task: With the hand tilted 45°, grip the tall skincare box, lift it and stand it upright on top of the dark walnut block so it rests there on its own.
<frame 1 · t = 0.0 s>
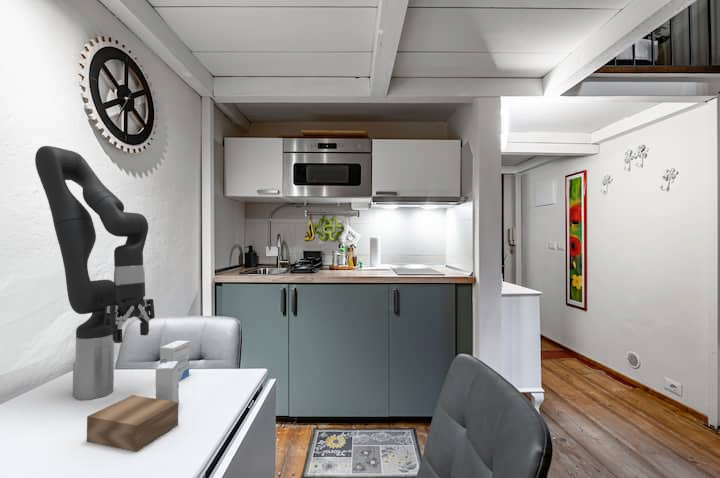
hand: (131, 338, 105), 17 cm above the table, tool pointing down, fingers open, 8 cm apart
ink box: (174, 380, 120), on the table
skincare box: (167, 410, 99), on the table
walnut block: (134, 434, 87), on the table
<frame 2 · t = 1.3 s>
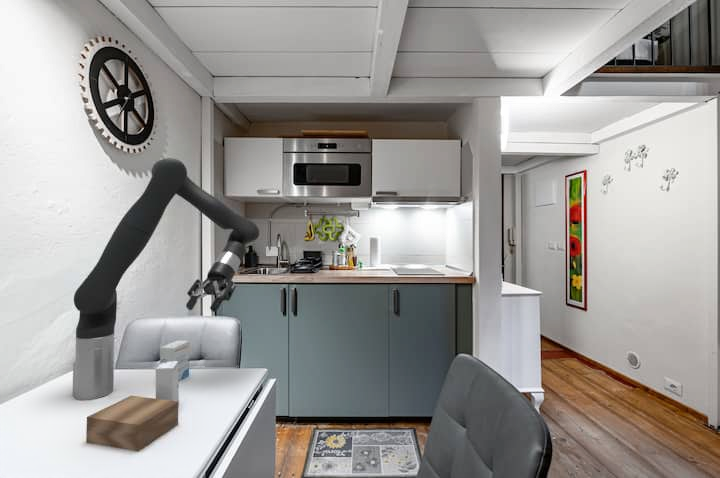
hand: (200, 309, 111), 25 cm above the table, tool tilted 45°, fingers open, 8 cm apart
nothing on the table moved.
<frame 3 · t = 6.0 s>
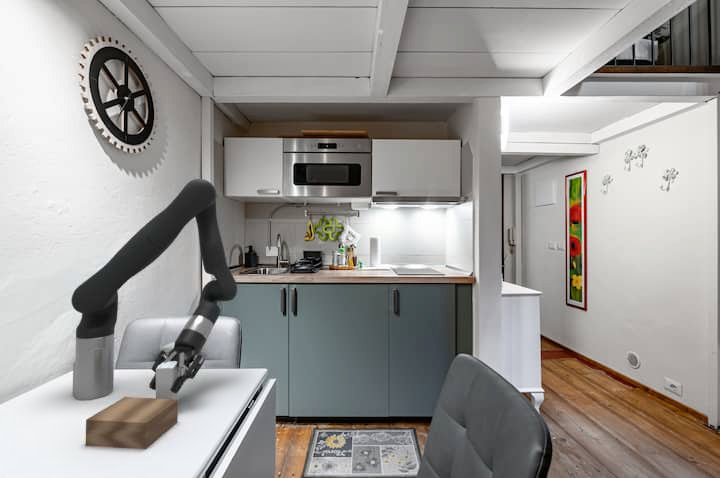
hand: (162, 390, 97), 6 cm above the table, tool tilted 45°, fingers closed on skincare box, 6 cm apart
skincare box: (167, 410, 99), on the table, touching gripper
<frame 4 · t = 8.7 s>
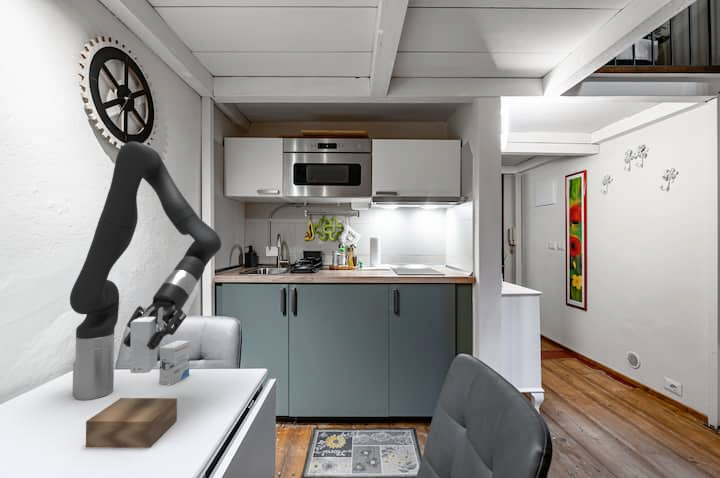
hand: (138, 346, 88), 20 cm above the table, tool tilted 45°, fingers closed on skincare box, 6 cm apart
skincare box: (143, 369, 89), point 14 cm above the table, touching gripper
when the fingers open (13 cm above the table, at t = 11.6 s): skincare box drops 2 cm, resting on walnut block.
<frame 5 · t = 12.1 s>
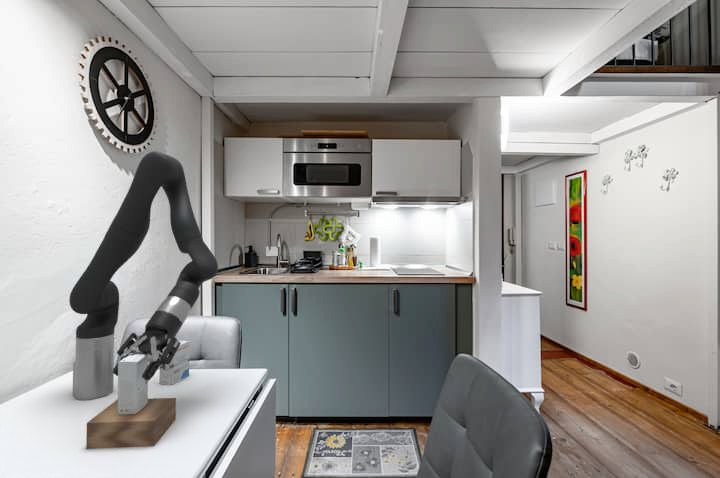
hand: (130, 376, 85), 14 cm above the table, tool tilted 45°, fingers open, 8 cm apart
skincare box: (133, 409, 87), point 5 cm above the table, touching walnut block
walnut block: (134, 435, 87), on the table, touching skincare box
everything else where it was.
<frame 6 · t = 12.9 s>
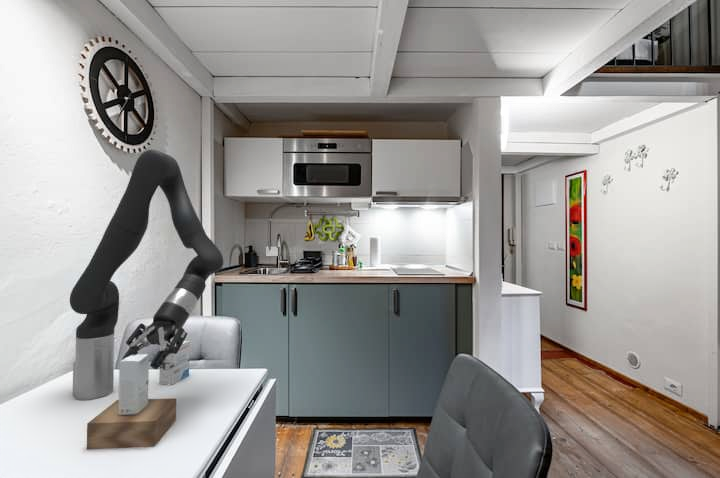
hand: (139, 365, 88), 15 cm above the table, tool tilted 45°, fingers open, 8 cm apart
nothing on the table moved.
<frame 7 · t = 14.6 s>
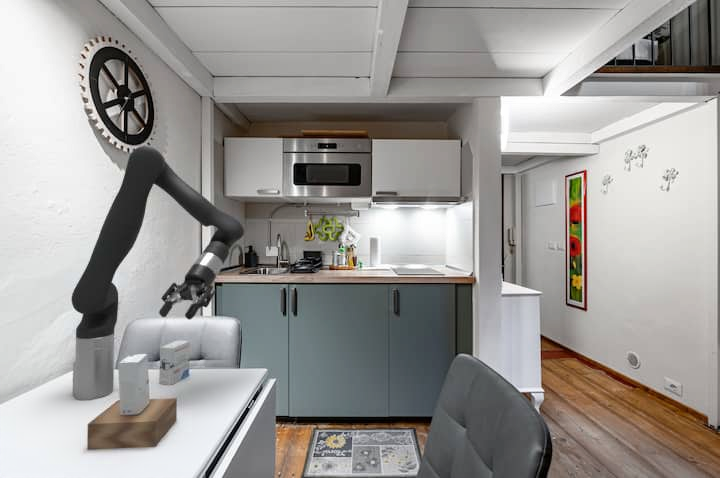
hand: (174, 316, 100), 25 cm above the table, tool tilted 45°, fingers open, 8 cm apart
skincare box: (135, 409, 87), point 5 cm above the table
walnut block: (135, 435, 86), on the table
everything else where it was.
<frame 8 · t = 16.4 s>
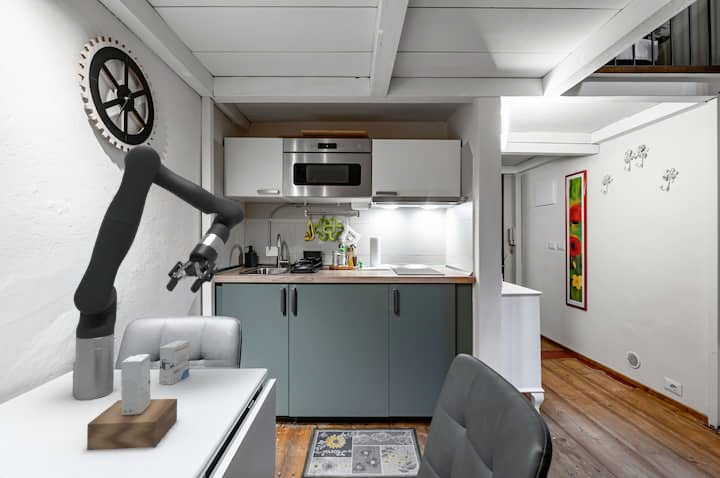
hand: (180, 290, 108), 31 cm above the table, tool tilted 45°, fingers open, 8 cm apart
nothing on the table moved.
at the end: skincare box inside the target area on the walnut block (0.4 cm from its centre), point 5.8 cm above the walnut block's base; skincare box tilted 0°; the gripper is holding nothing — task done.
